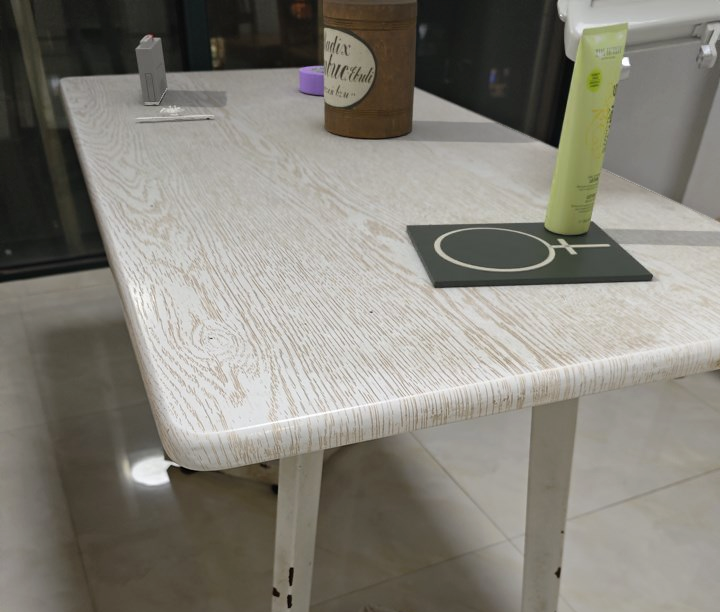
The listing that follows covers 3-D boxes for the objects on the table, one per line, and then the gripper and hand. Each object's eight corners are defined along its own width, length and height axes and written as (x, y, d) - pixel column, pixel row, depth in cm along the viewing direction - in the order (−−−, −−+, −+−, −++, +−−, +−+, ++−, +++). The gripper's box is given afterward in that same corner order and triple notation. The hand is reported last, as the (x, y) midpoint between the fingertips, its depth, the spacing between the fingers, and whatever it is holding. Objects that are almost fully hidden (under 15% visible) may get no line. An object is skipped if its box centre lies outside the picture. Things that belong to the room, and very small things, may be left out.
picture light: (133, 123, 119) (131, 109, 118) (131, 117, 122) (129, 104, 121) (216, 119, 123) (214, 105, 121) (212, 113, 126) (211, 100, 125)
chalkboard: (591, 226, 82) (593, 219, 82) (651, 280, 70) (654, 272, 69) (406, 230, 80) (406, 223, 79) (434, 287, 67) (434, 279, 67)
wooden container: (308, 124, 120) (304, -35, 107) (379, 116, 127) (384, -35, 113) (355, 143, 111) (357, -29, 97) (429, 133, 117) (441, -30, 104)
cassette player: (154, 89, 143) (145, 31, 137) (167, 89, 143) (159, 31, 137) (144, 105, 131) (134, 42, 124) (158, 105, 131) (149, 42, 125)
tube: (591, 240, 77) (639, 28, 65) (544, 237, 77) (582, 26, 65) (586, 222, 81) (629, 21, 69) (541, 220, 82) (576, 20, 70)
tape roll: (326, 83, 151) (326, 63, 149) (368, 91, 146) (368, 70, 143) (287, 90, 144) (287, 69, 142) (329, 99, 139) (329, 76, 136)
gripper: (558, -32, 82) (577, 60, 78) (740, -63, 80) (769, 31, 76) (550, 17, 88) (567, 105, 84) (720, -10, 86) (746, 79, 82)
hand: (665, 70), depth 80 cm, fingers open, 8 cm apart
